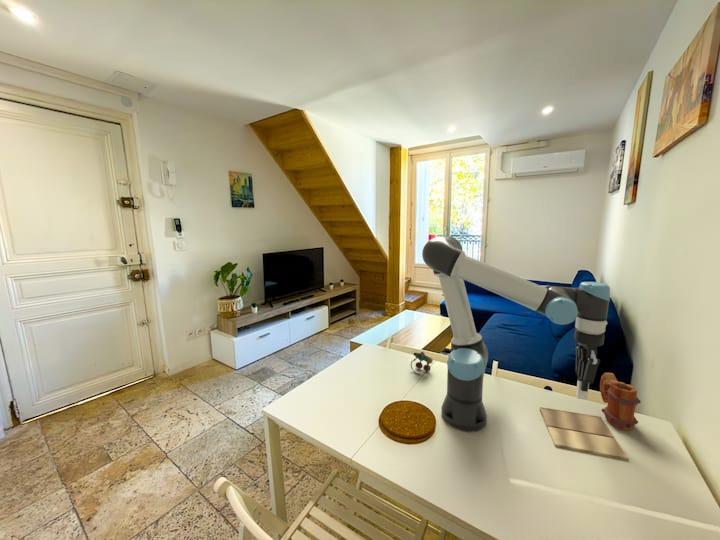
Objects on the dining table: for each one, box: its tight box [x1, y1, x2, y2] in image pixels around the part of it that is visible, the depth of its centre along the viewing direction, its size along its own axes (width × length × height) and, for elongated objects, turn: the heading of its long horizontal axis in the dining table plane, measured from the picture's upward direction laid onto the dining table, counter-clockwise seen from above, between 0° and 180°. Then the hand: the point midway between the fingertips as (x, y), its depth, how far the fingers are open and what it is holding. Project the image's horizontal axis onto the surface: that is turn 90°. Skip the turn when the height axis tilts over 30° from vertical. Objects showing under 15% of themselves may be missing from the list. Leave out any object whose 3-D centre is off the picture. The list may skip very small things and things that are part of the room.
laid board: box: [546, 426, 630, 461], centre depth 89 cm, size 18×8×2 cm, turn 71°
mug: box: [599, 372, 641, 431], centre depth 99 cm, size 15×8×15 cm, turn 168°
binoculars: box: [410, 351, 434, 375], centre depth 134 cm, size 9×9×10 cm
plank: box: [539, 406, 615, 438], centre depth 97 cm, size 18×9×2 cm, turn 71°
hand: (581, 397), depth 96 cm, fingers closed
